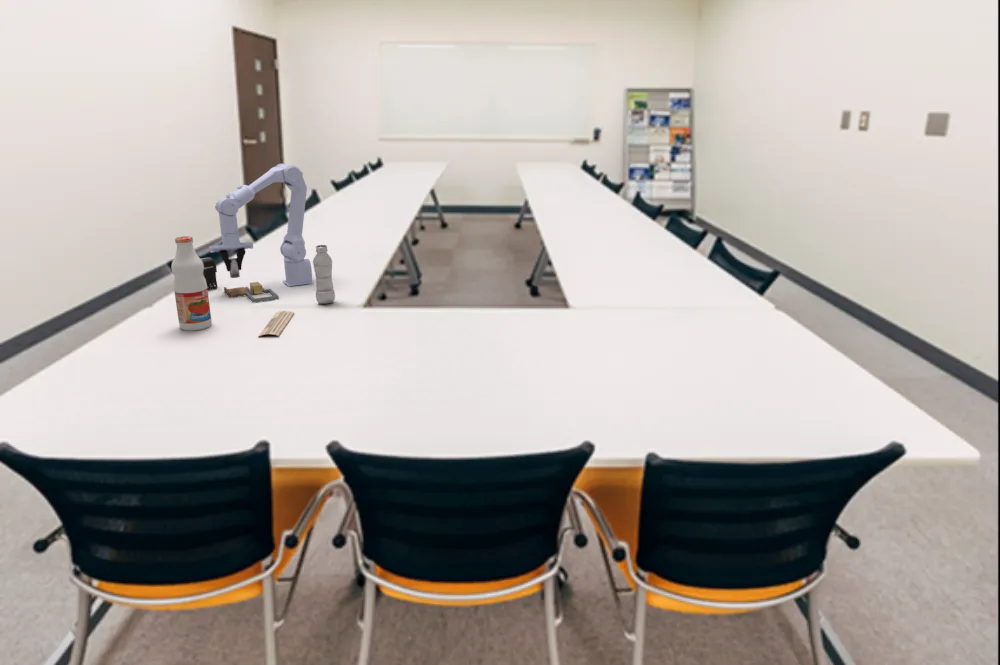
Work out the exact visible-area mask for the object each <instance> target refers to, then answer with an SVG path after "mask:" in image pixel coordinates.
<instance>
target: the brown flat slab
mask: <svg viewBox="0 0 1000 665" xmlns="http://www.w3.org/2000/svg"><path fill="white" fill-rule="evenodd" d="M223 292H224V293H225V295H226V294H227V295H228V296H229V297H233V298H238V296H241V297H245V296H244V295H246V294H245V292H249V291H248V290H247V289H245V287H244V286H241V287H240V286H239V287H233V288H227V287H226V286H225V287H223ZM227 295H226V296H227ZM228 296H227V297H228ZM229 297H228V298H229Z"/></svg>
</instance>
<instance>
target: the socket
mask: <svg viewBox="0 0 1000 665" xmlns="http://www.w3.org/2000/svg"><path fill="white" fill-rule="evenodd" d="M244 288H245V289H247V290H248V291H249V292H245V294H246V296H247V297H248V298H249V299H250V300H251V301H252V302H256V303H261V302H260V301H263V302H268V301H267V300H270V301H275V300H274V299H277V300H280V296H279V295H278V293H276V292H275V291H274V290H272V289H271V288H267V289H266V288H264V287H263V286H262V289H263V293H262V294H264V293H265V294H269V293H270V294H271V295H272V296H271V295H270V294H269V295H270V296H269V295H268V296H263V297H254V293H253V291H251V290H250V287H248V286H245V287H244ZM246 296H245V297H246ZM247 297H246V298H247ZM248 298H247V299H248ZM249 299H248V300H249ZM250 300H249V301H250ZM251 301H250V302H251Z"/></svg>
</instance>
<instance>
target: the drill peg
mask: <svg viewBox="0 0 1000 665" xmlns="http://www.w3.org/2000/svg"><path fill="white" fill-rule="evenodd" d="M229 266H230V271H229V277H230V278H231V279H237V278H240V276H241V274H240V270H239V265H238V258H237V257H231V258H230V257H229Z"/></svg>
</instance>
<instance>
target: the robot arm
mask: <svg viewBox="0 0 1000 665" xmlns="http://www.w3.org/2000/svg"><path fill="white" fill-rule="evenodd" d="M303 176H304V172H302V170H300V168H299V167H298V166H296V165H293V164H291V165H289V164H285V163H279V164H276V166H273V167H271V168H270V169H269V170H268V171H267V172H265V173H263V175H261V176H260V177H259V178H257V179H256V180H254V181H253V182H252V183H250V184H249V185H247V184H243V185H241V184H240V185H238V186H237V187H236V188H237V189H235V190H234V191H232V192H230V193H226V195H225V196H226V197H220V198H219V199H217V202H216V203H215V206H214V208H215V210H216V211H217V212H218V216H219V226H220V232H221V233H220V234H221V236H220V237H221V241H222V244H219V245H218V244H216V245H211V246H209V247H208V248H209V252H210V253H211V254H212V253H213V254H214V253H218V255H220V256H221V259H222V261H223V263H224V264H225V268H226V271H227V272H230V266H229V259H230V256H229V253H228V251H229V252H230V251H235V255H236V258H238V265H239V271H241V270H242V266H243V260H244V257H245V255H246V253H247V252H246V250H248V249H254V244H253V242H251V241H249V242H248V241H247V242H240V236H239V235H240V233H239V227H238V226H239V225H238V219H237V213H238V212H239V209H240V208H242V207H244V206H246V204H248V203H250V202H251V201H252V200H254V199H255V195H256V193H259V192H261V191H262V190H263V189H265V188H266V187H268V186H270V185H271V184H273V183H283V184H284V185H285V186H286V187H287V188H288V189H289V190H290V192H291V193H290V202H289V211H288V221H287V231H286V234H285V235H284V237H283V239H282V240H283V242H282V243H281V245H280V249H279V250H280V254H281V255H282V256H283V261H284V262H283V263H284V274H285V276H284V277H285V280H282V283H284V284H285V285H286V286H287V287H296V286H302V285H303V286H304V285H311V284H313V283H314V281H313V273H312V272H313V270H312V264H311V260H310V259H309V258H305V257H306V255H307V250H306V247H305V243H306V241H305V239H304V238H303V228H304V220H305V210H306V201H307V191H308V188H307V184H306V181H305V179H304V177H303Z"/></svg>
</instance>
